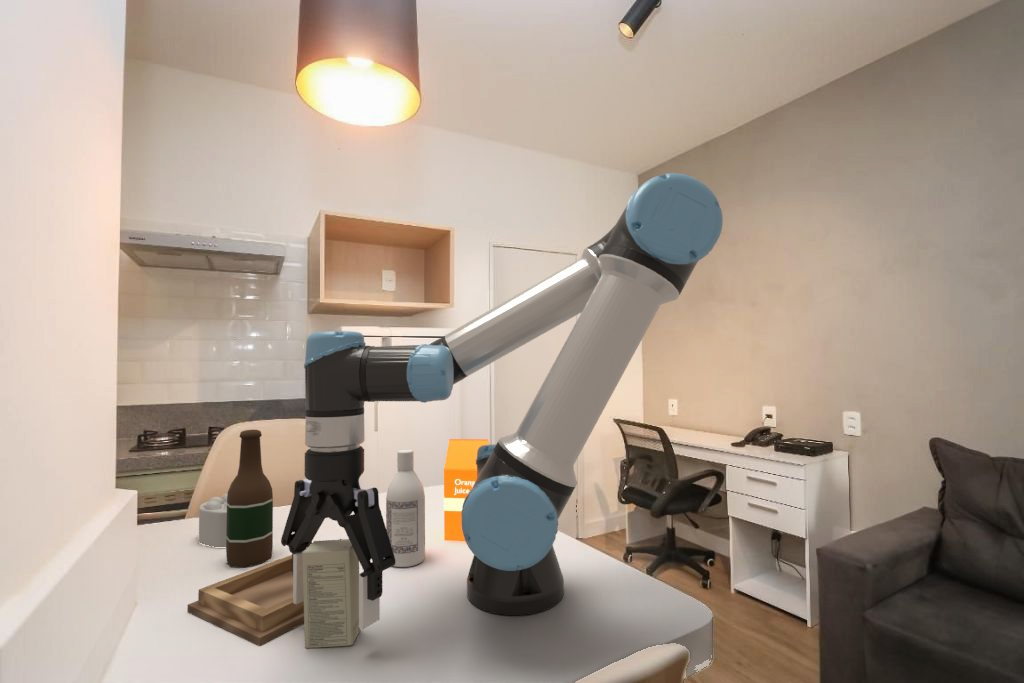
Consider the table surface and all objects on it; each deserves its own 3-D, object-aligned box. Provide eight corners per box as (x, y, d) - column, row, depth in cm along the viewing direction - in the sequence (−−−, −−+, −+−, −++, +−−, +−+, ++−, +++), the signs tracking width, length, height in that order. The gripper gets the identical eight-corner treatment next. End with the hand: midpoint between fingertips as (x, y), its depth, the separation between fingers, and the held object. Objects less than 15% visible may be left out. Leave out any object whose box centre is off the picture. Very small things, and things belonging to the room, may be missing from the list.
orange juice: (486, 542, 100) (484, 442, 101) (443, 540, 101) (443, 441, 102) (493, 529, 107) (492, 436, 108) (454, 527, 109) (453, 436, 110)
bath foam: (402, 551, 95) (401, 446, 96) (432, 556, 92) (431, 448, 93) (378, 564, 89) (378, 452, 90) (410, 570, 86) (409, 455, 87)
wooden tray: (367, 590, 79) (367, 571, 79) (259, 645, 63) (259, 621, 64) (296, 567, 88) (296, 550, 88) (187, 611, 73) (187, 590, 73)
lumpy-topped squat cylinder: (224, 551, 97) (224, 506, 98) (184, 541, 103) (185, 499, 103) (271, 534, 106) (271, 493, 107) (232, 526, 112) (232, 488, 113)
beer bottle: (216, 564, 90) (217, 432, 92) (255, 549, 97) (256, 427, 99) (243, 571, 87) (244, 434, 88) (281, 556, 94) (282, 428, 95)
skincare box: (361, 629, 67) (361, 537, 68) (352, 647, 63) (352, 549, 63) (313, 630, 67) (314, 538, 68) (301, 649, 63) (301, 550, 63)
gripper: (254, 444, 69) (253, 601, 68) (379, 459, 57) (379, 651, 56) (301, 437, 76) (300, 580, 75) (423, 449, 63) (424, 621, 62)
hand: (334, 611), depth 65 cm, fingers open, 12 cm apart
